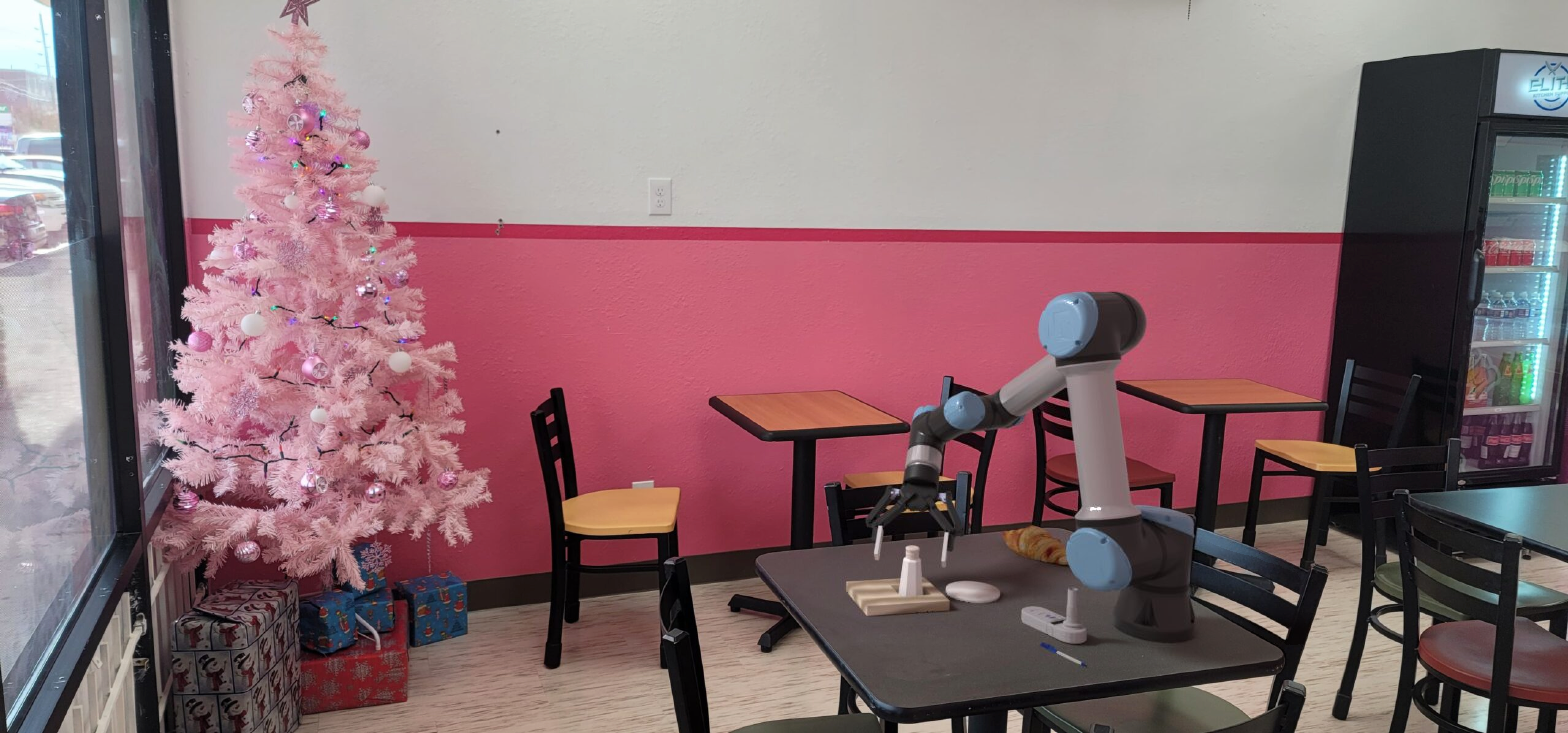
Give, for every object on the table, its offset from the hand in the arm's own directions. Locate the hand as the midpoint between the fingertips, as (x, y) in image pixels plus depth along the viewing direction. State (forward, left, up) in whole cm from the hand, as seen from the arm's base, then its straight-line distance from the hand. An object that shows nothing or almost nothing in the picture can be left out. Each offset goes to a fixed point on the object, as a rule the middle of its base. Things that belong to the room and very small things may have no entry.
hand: (909, 560), depth 207 cm
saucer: (0, -14, -8) cm, 16 cm away
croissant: (+22, -40, -8) cm, 46 cm away
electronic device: (-21, -21, -8) cm, 31 cm away
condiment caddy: (-1, +3, -8) cm, 8 cm away
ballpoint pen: (-32, -17, -8) cm, 37 cm away
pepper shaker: (-1, 0, -8) cm, 8 cm away
